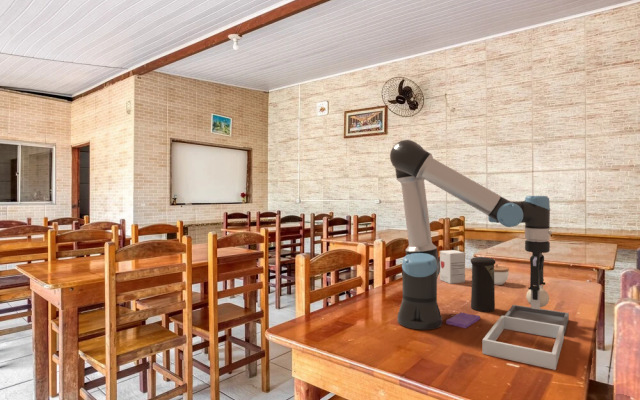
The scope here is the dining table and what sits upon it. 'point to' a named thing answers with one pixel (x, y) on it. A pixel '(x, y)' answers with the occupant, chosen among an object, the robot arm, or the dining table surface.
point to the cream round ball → (543, 297)
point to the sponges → (463, 320)
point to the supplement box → (452, 266)
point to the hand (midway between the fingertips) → (537, 305)
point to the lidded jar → (500, 274)
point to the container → (483, 284)
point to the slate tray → (539, 315)
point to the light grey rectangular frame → (519, 352)
